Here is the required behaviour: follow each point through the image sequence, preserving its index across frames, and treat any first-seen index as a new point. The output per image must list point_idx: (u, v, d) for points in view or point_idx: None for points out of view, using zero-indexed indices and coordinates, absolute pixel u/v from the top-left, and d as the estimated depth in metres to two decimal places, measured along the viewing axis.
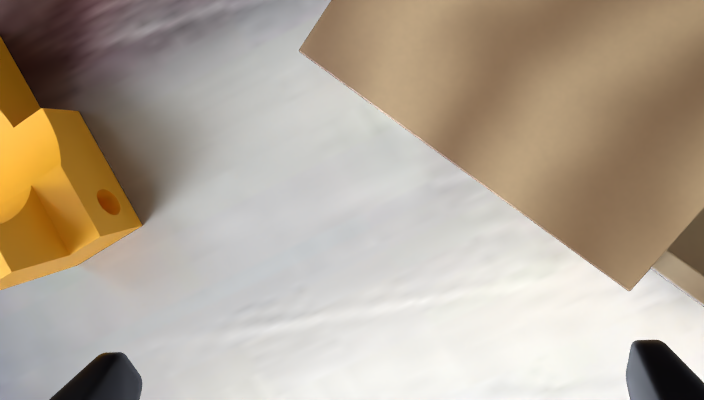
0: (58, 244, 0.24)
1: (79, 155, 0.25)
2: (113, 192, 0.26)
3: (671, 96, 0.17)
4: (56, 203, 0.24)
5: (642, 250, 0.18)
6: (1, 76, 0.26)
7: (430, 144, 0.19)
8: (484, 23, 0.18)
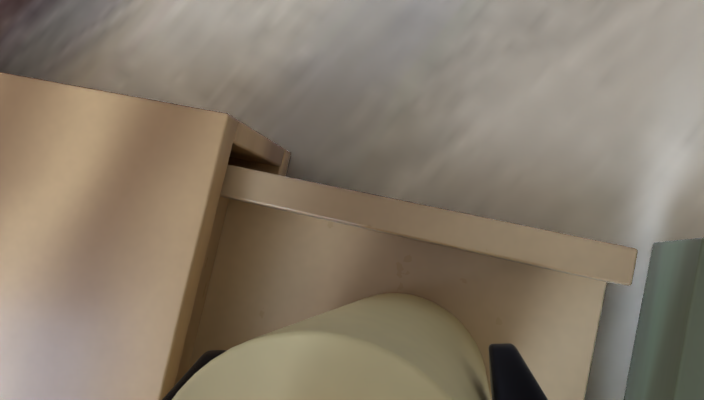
0: None
1: None
2: None
3: (61, 309, 0.13)
4: None
5: None
6: None
7: None
8: None
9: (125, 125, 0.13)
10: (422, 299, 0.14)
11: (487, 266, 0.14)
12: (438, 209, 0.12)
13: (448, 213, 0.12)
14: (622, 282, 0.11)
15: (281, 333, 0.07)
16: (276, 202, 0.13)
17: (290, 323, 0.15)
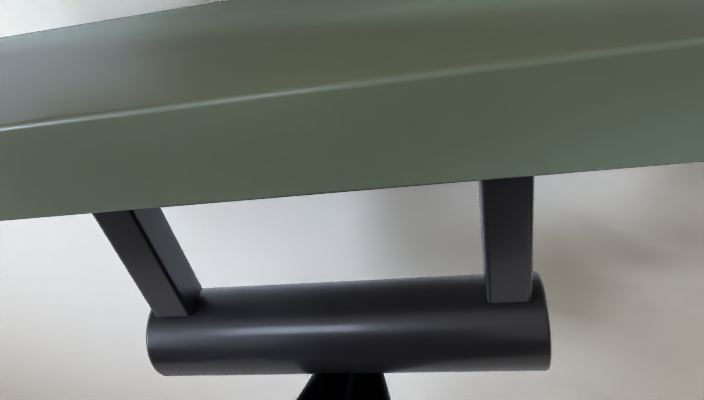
0: None
1: None
2: None
3: None
4: None
5: None
6: None
7: None
8: None
9: None
10: None
11: None
12: None
13: None
14: None
15: None
16: None
17: None
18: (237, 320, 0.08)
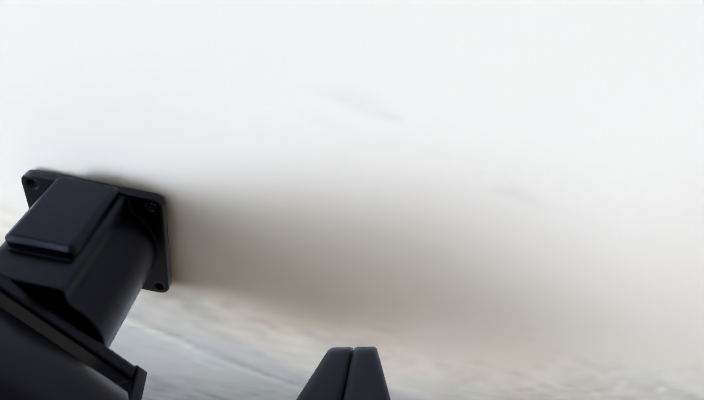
0: None
1: None
2: None
3: None
4: None
5: None
6: None
7: None
8: None
9: None
10: None
11: None
12: None
13: None
14: None
15: None
16: None
17: None
18: None
